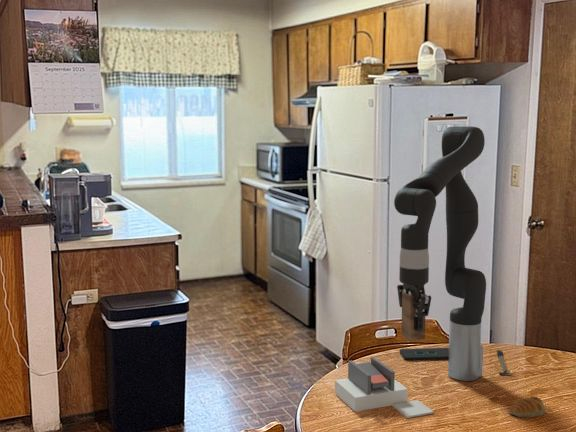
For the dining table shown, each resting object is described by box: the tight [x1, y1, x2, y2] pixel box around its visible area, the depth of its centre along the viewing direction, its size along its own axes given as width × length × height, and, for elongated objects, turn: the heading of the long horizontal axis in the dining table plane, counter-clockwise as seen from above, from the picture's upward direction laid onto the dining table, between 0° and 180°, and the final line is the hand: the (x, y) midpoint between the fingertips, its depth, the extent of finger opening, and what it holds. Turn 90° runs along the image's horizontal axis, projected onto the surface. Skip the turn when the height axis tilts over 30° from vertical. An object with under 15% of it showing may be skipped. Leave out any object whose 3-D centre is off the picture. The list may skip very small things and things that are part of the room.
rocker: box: [356, 361, 389, 389], centre depth 193 cm, size 5×12×1 cm, turn 21°
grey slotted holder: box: [334, 356, 409, 412], centre depth 193 cm, size 16×13×9 cm
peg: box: [401, 292, 426, 342], centre depth 182 cm, size 4×4×12 cm
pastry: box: [509, 395, 547, 418], centre depth 184 cm, size 9×7×4 cm
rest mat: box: [391, 399, 435, 419], centre depth 186 cm, size 8×8×1 cm
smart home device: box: [399, 347, 449, 361], centre depth 227 cm, size 8×2×20 cm
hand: (413, 327), depth 183 cm, fingers closed on peg, 4 cm apart
